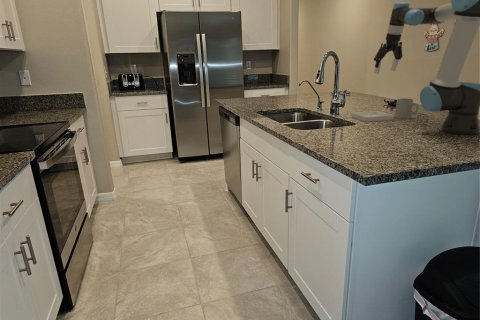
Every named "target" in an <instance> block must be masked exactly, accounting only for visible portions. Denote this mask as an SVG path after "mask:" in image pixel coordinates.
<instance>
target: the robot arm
mask: <svg viewBox="0 0 480 320" xmlns="http://www.w3.org/2000/svg"><path fill="white" fill-rule="evenodd" d="M452 19H455V22H454V23H453V27H452V30H451V33H450V35H449V39H448V42H447V45H446V47H445V50H444V53H443V56H442V59H441V61H440V65H439V67H438V71H437V73H436V76H434V77H433V78H431V79H430V82H429V84H428V85H426V86H424V87H423V88H422V89H421V90H420V92H419V93H420V94H419V102H420V104H421V107H422V108H423V110H425V111H427V112H434V113H437V112H445V111H446V112H447V111H448V112H447V116H446V118H445V119H444V120H443V122H442V125H441V129H440V130H441V131H442V132H444V133H448V134H454V135H464V136H465V135H467V136H468V135H469V136H470V135H478V134H479V133H480V122H479V112H480V83H478V82H468V81H466V82H465V81H459V79H460V76H461V73H462V71H463V68H464V66H465V63H466V61H467V58H468V55H469V53H470V51H471V48H472V45H473V42H474V40H475V38H476V36H477V32H478V30H479V28H480V0H451V1H450V2H448V3H444V4H443V5H442V4H441V5H439V6H436V7H426V8H425V7H424V8H423V7H418V8H417V7H416V8H414V7H410V2H407V1H396V2H394V3H393V7H392V10H391V13H390V20H389V24H388V28H387V33H386V35H385V41H386V42H385V43H384V42H381V44H380V47H379V49H378V51H377V52H376V54H375V56H374V57H373V61H375V64H374V70H373V71H374V72H373V73H374V74H379V73H380V70H381V65H382V60H383V58H384V57H385V56H386V55H387V54H388V53H389V52H392V54H393V57H394V58H393V59H392V60H393V61H392V63H391V68H390V70H391V71H393V72H396V70H397V66H398V64H399V61H400V60H402V58H403V47H402V46H403V41H401V38H402V33H404V32H403V30H404V27H405V25H407V26H415V27H416V26H419V25H441V24H443V23H445V21H449V20H452Z"/></svg>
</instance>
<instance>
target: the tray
mask: <svg viewBox="0 0 480 320" xmlns="http://www.w3.org/2000/svg"><path fill="white" fill-rule="evenodd" d="M351 118H352V119H354V120H358V121H361V122H364V123H374V122H375V123H377V122H387V121H389V122H390V120H391V121H395V114H390V113H387V112H384V111H378V110H374V111H373V110H371V111H361V112H351Z"/></svg>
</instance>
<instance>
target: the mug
mask: <svg viewBox="0 0 480 320" xmlns="http://www.w3.org/2000/svg"><path fill="white" fill-rule="evenodd" d="M413 106H415V107H416V110H415V111H413ZM417 113H419V103H418V102H414V99H412V98H406V97H405V98H403V97H402V98H397V99H396V105H395V114H394V119H398V120H410V119H412V116H413V115H417Z"/></svg>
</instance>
